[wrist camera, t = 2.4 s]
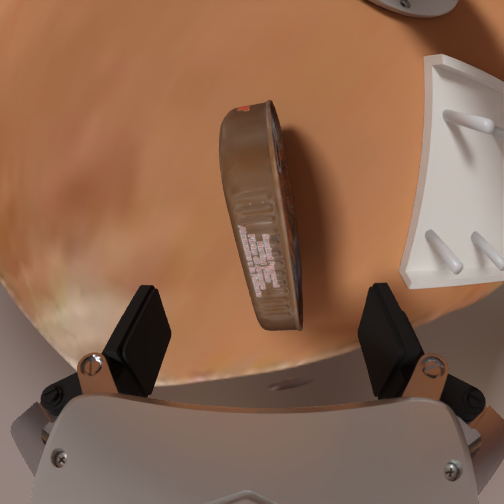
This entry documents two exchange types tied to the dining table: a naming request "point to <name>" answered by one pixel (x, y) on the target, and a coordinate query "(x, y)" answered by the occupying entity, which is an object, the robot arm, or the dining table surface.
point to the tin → (263, 213)
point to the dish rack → (458, 180)
